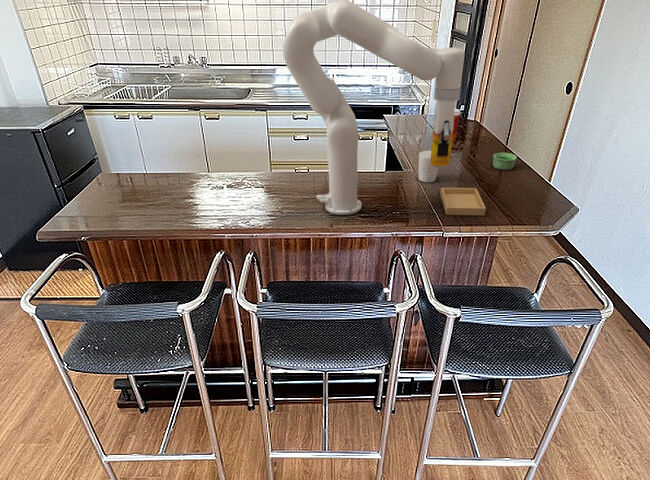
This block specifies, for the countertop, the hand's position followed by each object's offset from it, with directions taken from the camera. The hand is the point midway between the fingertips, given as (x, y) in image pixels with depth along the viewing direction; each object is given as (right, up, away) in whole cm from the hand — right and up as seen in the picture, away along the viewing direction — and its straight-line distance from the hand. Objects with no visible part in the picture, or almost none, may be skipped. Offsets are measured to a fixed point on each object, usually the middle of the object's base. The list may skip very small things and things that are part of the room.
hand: (440, 151), depth 141 cm
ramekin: (+35, +3, +38) cm, 52 cm away
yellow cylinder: (0, -4, +3) cm, 5 cm away
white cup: (+2, -3, +29) cm, 30 cm away
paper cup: (+21, +23, +69) cm, 76 cm away
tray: (+9, -16, +10) cm, 21 cm away
